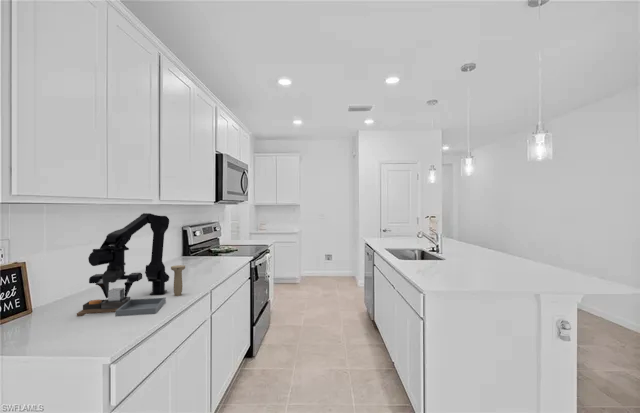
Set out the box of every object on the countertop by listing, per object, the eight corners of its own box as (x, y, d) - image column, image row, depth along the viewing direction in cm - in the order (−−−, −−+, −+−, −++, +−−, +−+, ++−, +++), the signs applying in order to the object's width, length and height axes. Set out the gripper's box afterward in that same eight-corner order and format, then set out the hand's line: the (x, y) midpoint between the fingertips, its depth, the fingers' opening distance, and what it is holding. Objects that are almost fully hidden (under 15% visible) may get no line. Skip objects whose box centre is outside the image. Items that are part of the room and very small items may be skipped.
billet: (112, 304, 133) (113, 288, 133) (124, 303, 134) (124, 287, 134) (108, 307, 129) (108, 291, 129) (119, 306, 130) (120, 290, 130)
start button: (92, 305, 132) (92, 299, 132) (103, 304, 133) (103, 299, 133) (86, 308, 127) (86, 303, 127) (98, 308, 128) (98, 302, 128)
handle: (171, 295, 150) (171, 265, 150) (185, 294, 153) (185, 265, 153) (170, 298, 146) (170, 267, 146) (184, 297, 148) (185, 266, 148)
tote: (129, 306, 134) (129, 299, 134) (165, 304, 138) (165, 297, 138) (115, 318, 120) (115, 310, 120) (155, 315, 123) (155, 308, 123)
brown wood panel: (95, 304, 137) (95, 296, 137) (133, 302, 140) (133, 294, 140) (76, 316, 122) (76, 307, 122) (120, 313, 125) (120, 304, 125)
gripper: (81, 266, 122) (81, 304, 122) (133, 264, 126) (133, 302, 126) (95, 261, 133) (95, 296, 133) (142, 259, 137) (142, 294, 137)
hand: (116, 297), depth 132 cm, fingers open, 7 cm apart
